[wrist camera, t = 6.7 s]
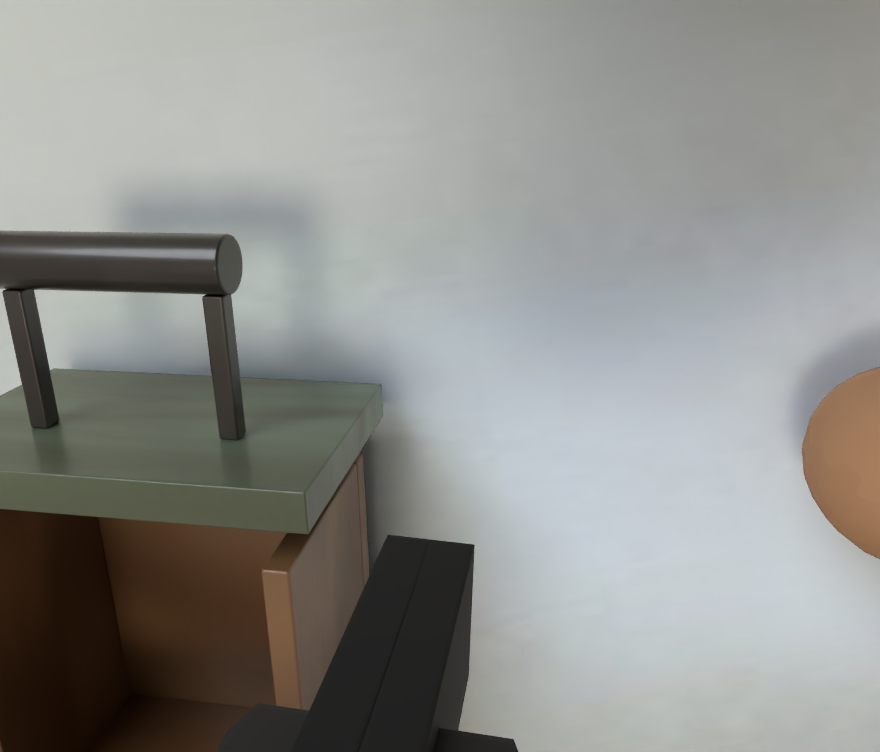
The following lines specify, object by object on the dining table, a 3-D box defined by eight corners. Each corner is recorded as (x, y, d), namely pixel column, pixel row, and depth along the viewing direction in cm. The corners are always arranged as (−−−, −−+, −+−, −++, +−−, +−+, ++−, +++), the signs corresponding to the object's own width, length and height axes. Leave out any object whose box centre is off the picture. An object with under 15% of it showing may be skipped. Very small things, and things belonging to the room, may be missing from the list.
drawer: (22, 207, 26) (-194, 248, 19) (374, 210, 24) (285, 257, 17) (116, 685, 33) (-15, 850, 26) (396, 719, 31) (339, 909, 24)
